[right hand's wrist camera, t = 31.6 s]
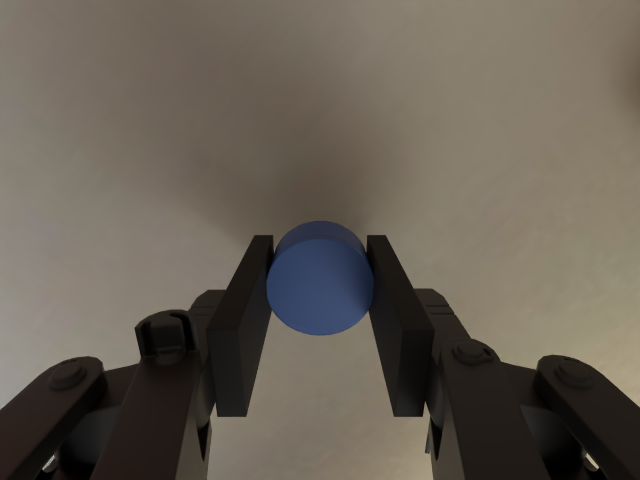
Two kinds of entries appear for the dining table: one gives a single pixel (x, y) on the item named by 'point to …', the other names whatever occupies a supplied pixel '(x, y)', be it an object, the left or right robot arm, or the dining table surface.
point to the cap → (320, 279)
